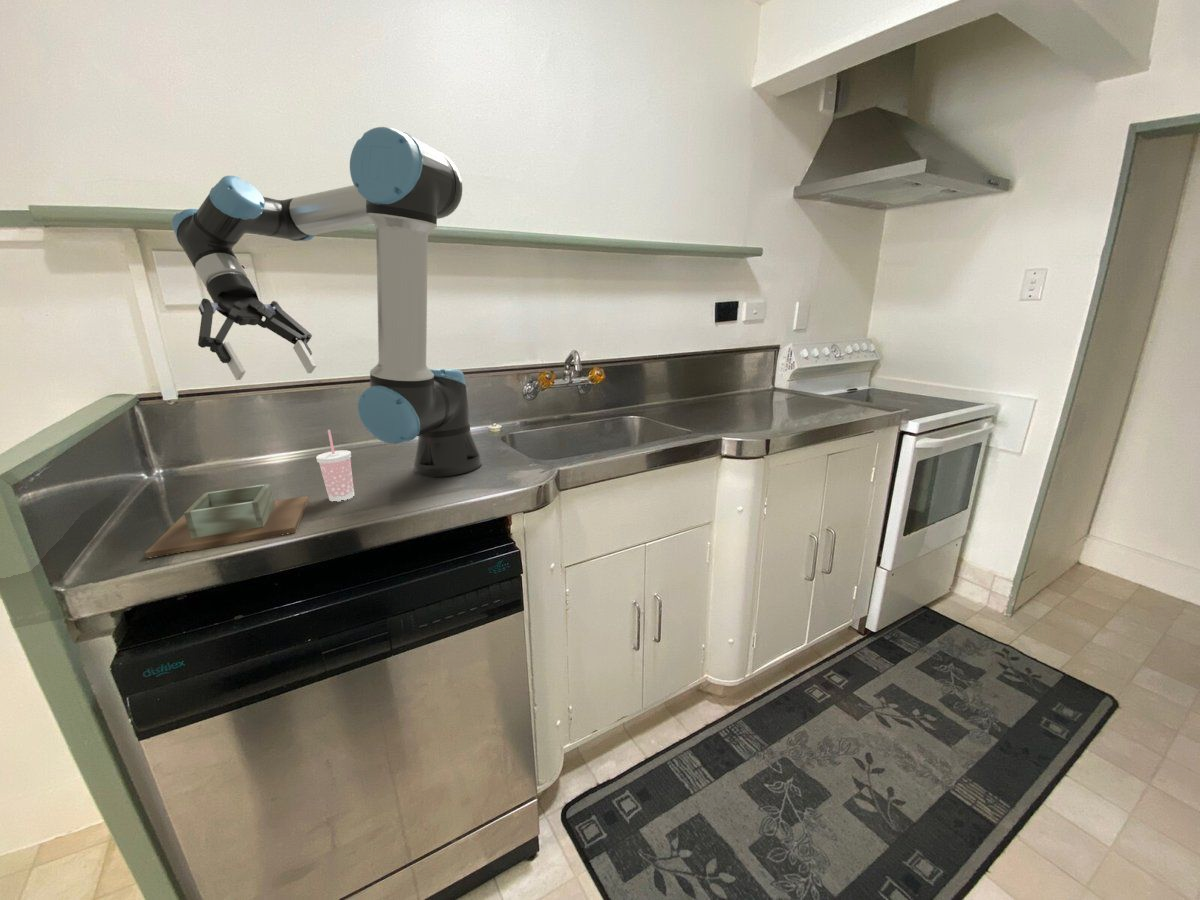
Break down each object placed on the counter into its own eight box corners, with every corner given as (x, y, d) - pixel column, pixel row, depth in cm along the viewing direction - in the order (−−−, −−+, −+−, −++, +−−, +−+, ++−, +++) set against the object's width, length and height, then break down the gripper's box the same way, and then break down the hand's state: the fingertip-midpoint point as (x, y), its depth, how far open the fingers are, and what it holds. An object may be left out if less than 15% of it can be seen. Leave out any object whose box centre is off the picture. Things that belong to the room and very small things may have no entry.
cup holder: (308, 500, 96) (302, 474, 95) (295, 532, 82) (288, 502, 81) (184, 520, 89) (176, 492, 88) (146, 559, 75) (135, 526, 73)
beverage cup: (327, 494, 100) (313, 428, 96) (359, 489, 102) (348, 424, 98) (322, 505, 94) (308, 435, 90) (357, 500, 96) (344, 431, 92)
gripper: (284, 298, 110) (330, 377, 109) (144, 292, 89) (199, 390, 87) (297, 276, 106) (344, 357, 105) (154, 264, 85) (211, 366, 83)
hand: (278, 372), depth 96 cm, fingers open, 13 cm apart
